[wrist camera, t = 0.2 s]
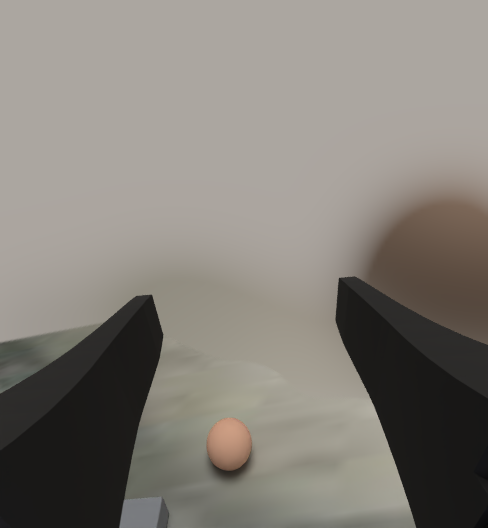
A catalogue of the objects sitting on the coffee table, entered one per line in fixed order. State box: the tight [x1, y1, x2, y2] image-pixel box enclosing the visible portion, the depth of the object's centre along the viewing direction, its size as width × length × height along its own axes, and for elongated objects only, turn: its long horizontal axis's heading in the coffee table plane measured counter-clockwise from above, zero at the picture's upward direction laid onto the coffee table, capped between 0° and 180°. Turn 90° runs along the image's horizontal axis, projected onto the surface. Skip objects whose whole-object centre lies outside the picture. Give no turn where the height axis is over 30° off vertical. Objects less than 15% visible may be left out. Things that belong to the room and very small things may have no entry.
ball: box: [207, 418, 252, 471], centre depth 26 cm, size 4×4×4 cm
